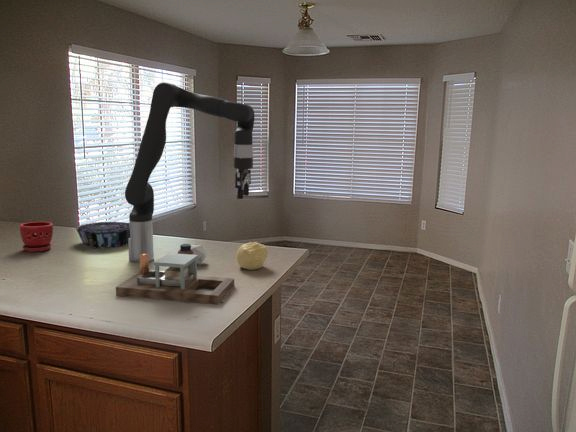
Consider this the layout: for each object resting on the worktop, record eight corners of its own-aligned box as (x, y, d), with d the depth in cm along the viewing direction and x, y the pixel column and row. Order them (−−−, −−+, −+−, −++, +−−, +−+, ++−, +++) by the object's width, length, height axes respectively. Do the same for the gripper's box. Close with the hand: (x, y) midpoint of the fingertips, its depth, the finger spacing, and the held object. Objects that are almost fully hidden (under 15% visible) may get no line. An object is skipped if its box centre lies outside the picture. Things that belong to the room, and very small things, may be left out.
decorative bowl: (103, 257, 213) (103, 235, 211) (63, 244, 225) (62, 223, 223) (146, 245, 235) (146, 225, 233) (107, 234, 248) (107, 215, 245)
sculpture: (251, 273, 187) (251, 247, 185) (231, 267, 195) (230, 241, 193) (271, 267, 195) (271, 242, 193) (251, 261, 203) (251, 237, 201)
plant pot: (45, 253, 210) (43, 226, 208) (15, 252, 210) (13, 226, 208) (59, 246, 223) (58, 221, 220) (32, 245, 223) (29, 220, 221)
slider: (134, 282, 163) (133, 257, 162) (146, 275, 172) (145, 250, 170) (184, 287, 160) (183, 261, 159) (194, 278, 169) (193, 254, 167)
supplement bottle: (180, 276, 182) (179, 247, 180) (176, 271, 187) (175, 243, 185) (195, 274, 185) (195, 245, 183) (191, 269, 190) (190, 242, 188)
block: (165, 284, 163) (164, 270, 162) (172, 279, 169) (172, 265, 168) (181, 286, 162) (181, 271, 161) (188, 280, 168) (188, 266, 167)
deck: (116, 295, 160) (115, 286, 160) (141, 278, 178) (141, 271, 177) (218, 304, 154) (218, 295, 154) (234, 286, 172) (234, 278, 171)
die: (195, 269, 193) (209, 249, 195) (178, 258, 194) (191, 238, 195) (199, 270, 201) (212, 251, 203) (182, 259, 202) (195, 240, 203)
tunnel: (154, 286, 161) (153, 262, 159) (169, 276, 172) (168, 253, 171) (185, 289, 159) (184, 264, 157) (198, 278, 170) (197, 255, 169)
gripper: (239, 154, 194) (239, 194, 197) (228, 157, 180) (228, 199, 184) (257, 155, 193) (256, 195, 196) (247, 157, 179) (247, 200, 182)
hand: (243, 197), depth 190 cm, fingers open, 8 cm apart
